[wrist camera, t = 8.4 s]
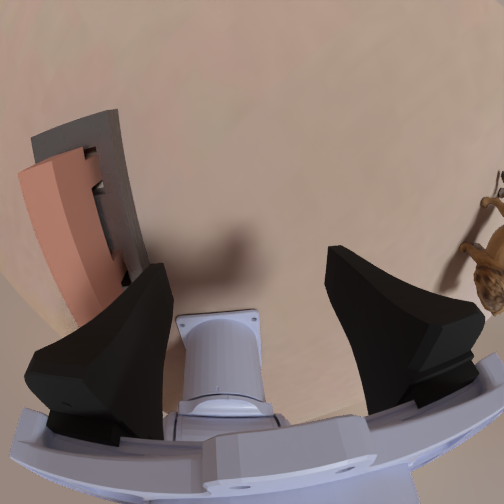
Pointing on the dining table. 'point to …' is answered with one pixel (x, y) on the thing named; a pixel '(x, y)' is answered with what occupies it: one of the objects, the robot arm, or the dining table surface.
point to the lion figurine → (490, 263)
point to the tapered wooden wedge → (73, 232)
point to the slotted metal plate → (114, 180)
